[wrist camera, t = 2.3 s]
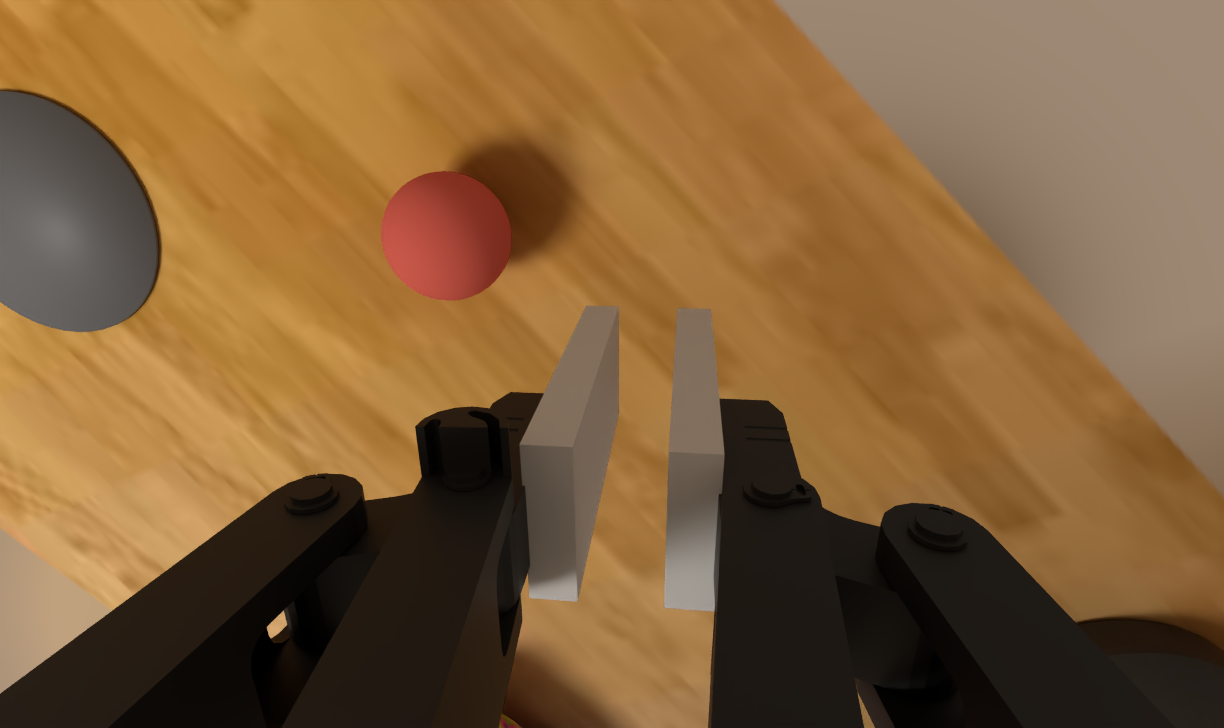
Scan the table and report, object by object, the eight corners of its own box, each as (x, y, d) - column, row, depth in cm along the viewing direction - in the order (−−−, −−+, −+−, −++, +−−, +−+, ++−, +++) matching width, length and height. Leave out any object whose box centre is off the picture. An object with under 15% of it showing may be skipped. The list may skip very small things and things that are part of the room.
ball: (520, 165, 30) (486, 180, 25) (527, 282, 33) (497, 318, 27) (404, 164, 31) (348, 179, 26) (417, 280, 33) (368, 315, 28)
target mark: (120, 90, 31) (117, 90, 31) (184, 334, 36) (181, 335, 35) (-109, 91, 32) (-114, 91, 32) (-19, 327, 37) (-22, 328, 37)
